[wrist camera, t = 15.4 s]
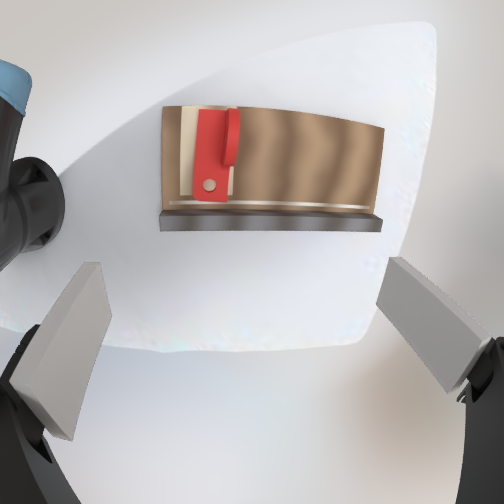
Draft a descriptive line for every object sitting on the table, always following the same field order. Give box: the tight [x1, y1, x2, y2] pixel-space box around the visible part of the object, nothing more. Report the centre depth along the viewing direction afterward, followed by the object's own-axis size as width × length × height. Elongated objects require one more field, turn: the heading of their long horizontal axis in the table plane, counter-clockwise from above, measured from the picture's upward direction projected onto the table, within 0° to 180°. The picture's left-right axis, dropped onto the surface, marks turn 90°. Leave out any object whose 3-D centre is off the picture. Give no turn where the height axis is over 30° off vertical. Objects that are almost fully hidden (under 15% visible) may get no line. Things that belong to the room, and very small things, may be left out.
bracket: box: [193, 108, 240, 203], centre depth 30 cm, size 12×4×8 cm, turn 174°
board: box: [159, 106, 384, 232], centre depth 36 cm, size 32×16×5 cm, turn 87°
